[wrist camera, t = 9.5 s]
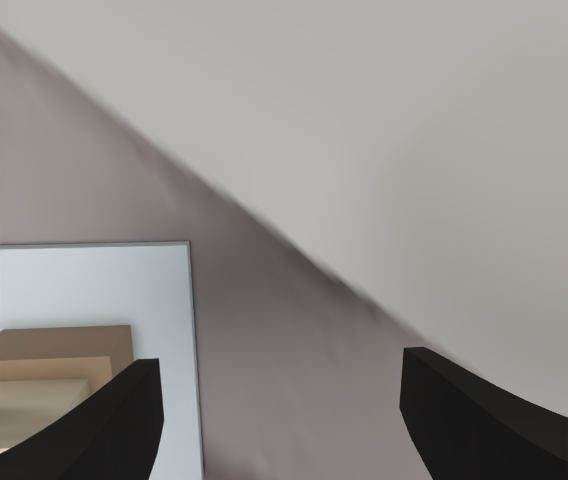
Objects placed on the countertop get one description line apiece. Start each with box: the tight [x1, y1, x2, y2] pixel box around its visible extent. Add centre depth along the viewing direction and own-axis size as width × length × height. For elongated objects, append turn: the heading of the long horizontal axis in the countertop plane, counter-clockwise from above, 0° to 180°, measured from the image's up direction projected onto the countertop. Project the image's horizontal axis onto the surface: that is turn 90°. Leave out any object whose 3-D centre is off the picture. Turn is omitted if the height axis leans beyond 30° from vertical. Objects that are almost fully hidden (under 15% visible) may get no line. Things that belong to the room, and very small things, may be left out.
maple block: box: [0, 378, 91, 453], centre depth 16 cm, size 4×4×4 cm
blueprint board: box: [0, 241, 204, 480], centre depth 20 cm, size 14×12×4 cm
